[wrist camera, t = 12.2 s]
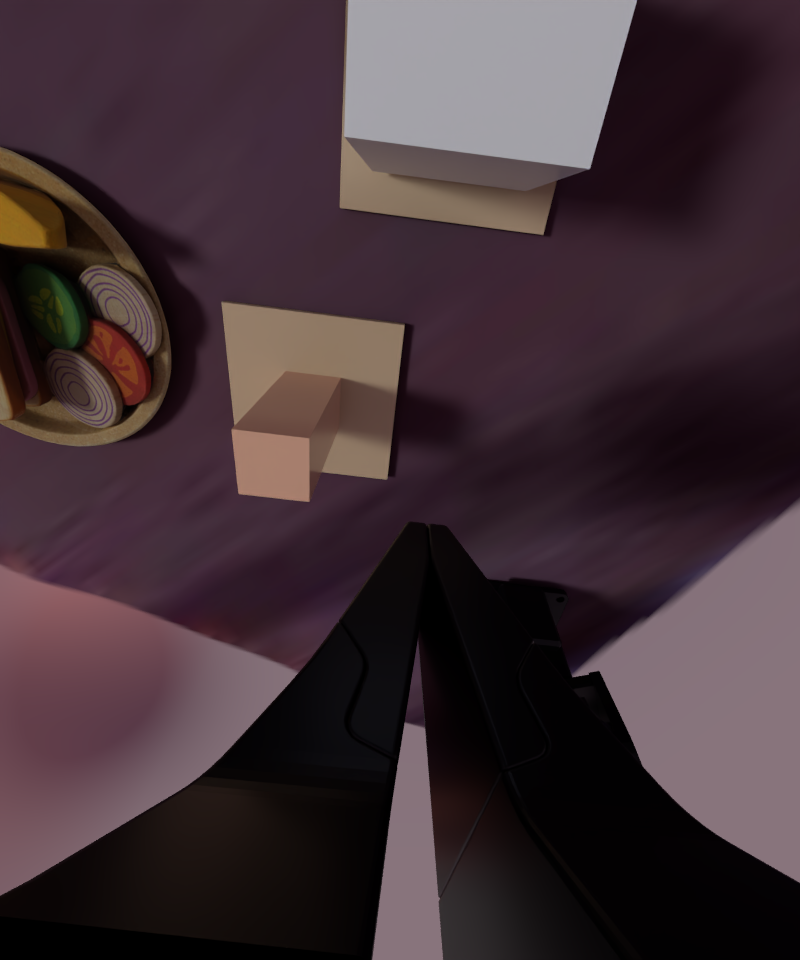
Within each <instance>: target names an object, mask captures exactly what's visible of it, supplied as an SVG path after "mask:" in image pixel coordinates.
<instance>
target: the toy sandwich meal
mask: <svg viewBox="0 0 800 960" xmlns="http://www.w3.org/2000/svg"><path fill="white" fill-rule="evenodd" d="M170 373H171V346H170V338H169V332H168V327H167V323H166V319H165V316H164V313H163V310H162V307H161V304H160V301H159V299H158V296H157V294H156V292H155V290H154V287H153V285H152V283H151V281H150V279H149V277H148V276H147V274H146V272H145V270H144V269H143V267H142V265H141V263H140V262H139V260H138V259H137V257H136V256H135V254H134V252H133V251H132V250H131V248H130V247H129V246H128V244H127V243H126V242H125V240H124V239H123V238H122V237H121V235H120V234H119V233H118V232H117V230H116V229H115V228H114V227H113V226H112V224H111V223H110V222H109V221H108V220H107V219H106V218H105V217H104V216H103V215H102V214H101V213H100V212H99V211H98V210H97V209H96V208H95V207H94V206H93V205H92V204H91V203H90V202H89V201H88V200H87V199H85V198H84V197H83V196H82V195H81V194H80V193H78V192H77V191H76V190H75V189H74V188H72V187H71V186H70V185H68V184H67V183H66V182H64V181H63V180H62V179H60V178H59V177H58V176H56V175H55V174H53V173H52V172H50V171H48V170H47V169H45V168H43V167H42V166H40V165H38V164H37V163H35V162H33V161H31V160H29V159H27V158H25V157H23V156H21V155H19V154H17V153H15V152H13V151H10V150H8V149H5V148H2V147H0V423H1V424H3V425H4V426H7V427H9V428H11V429H13V430H15V431H18V432H20V433H23V434H25V435H28V436H31V437H34V438H37V439H40V440H44V441H47V442H52V443H56V444H62V445H70V446H97V445H104V444H109V443H113V442H117V441H120V440H122V439H124V438H127V437H129V436H131V435H133V434H134V433H136V432H137V431H139V430H140V429H142V428H143V427H144V426H145V425H146V424H147V423H148V422H149V421H150V420H151V419H152V418H153V416H154V415H155V414H156V412H157V411H158V409H159V408H160V406H161V404H162V402H163V399H164V397H165V395H166V392H167V388H168V385H169V380H170Z"/></svg>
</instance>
